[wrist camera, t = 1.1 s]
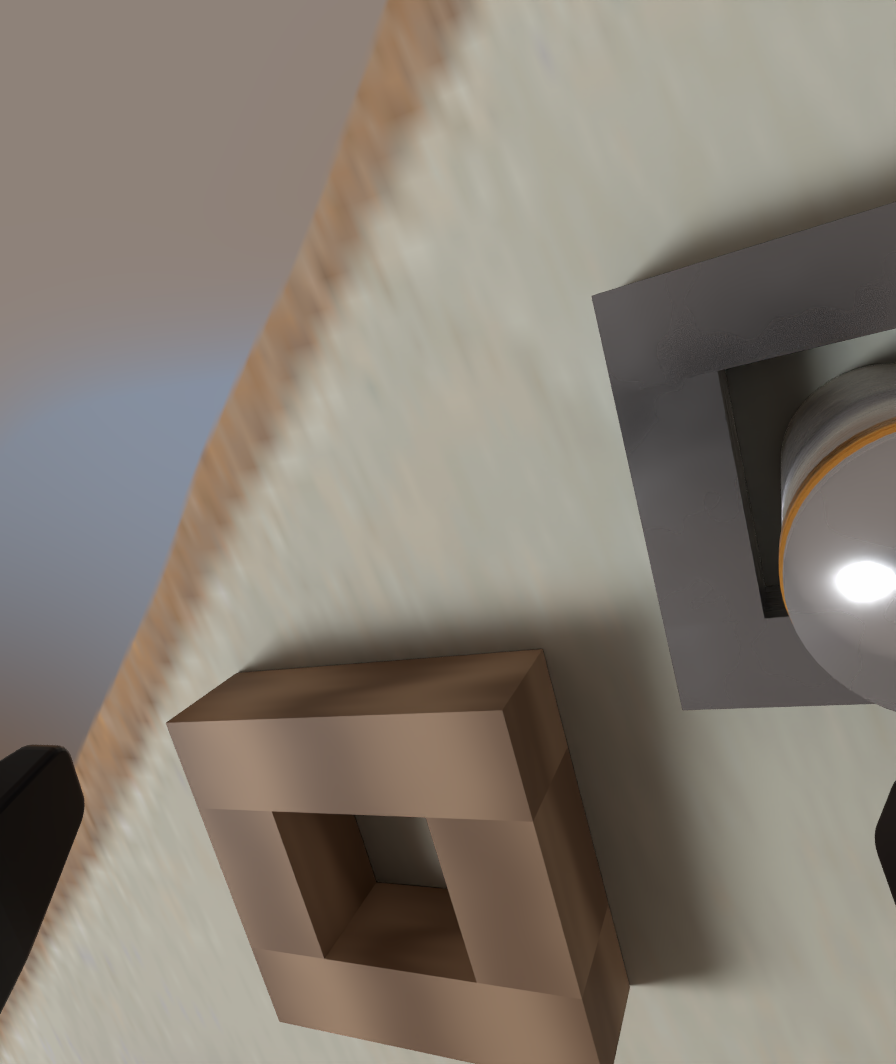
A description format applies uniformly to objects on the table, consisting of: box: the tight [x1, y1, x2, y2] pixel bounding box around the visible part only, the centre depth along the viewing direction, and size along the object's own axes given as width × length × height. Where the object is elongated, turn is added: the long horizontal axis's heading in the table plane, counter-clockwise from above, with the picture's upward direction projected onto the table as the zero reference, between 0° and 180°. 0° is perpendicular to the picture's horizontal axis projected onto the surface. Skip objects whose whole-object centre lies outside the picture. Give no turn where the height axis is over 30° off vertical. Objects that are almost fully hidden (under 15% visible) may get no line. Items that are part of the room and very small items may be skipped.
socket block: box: [166, 649, 630, 1064], centre depth 23 cm, size 12×12×4 cm
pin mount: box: [592, 202, 896, 710], centre depth 15 cm, size 10×10×2 cm
